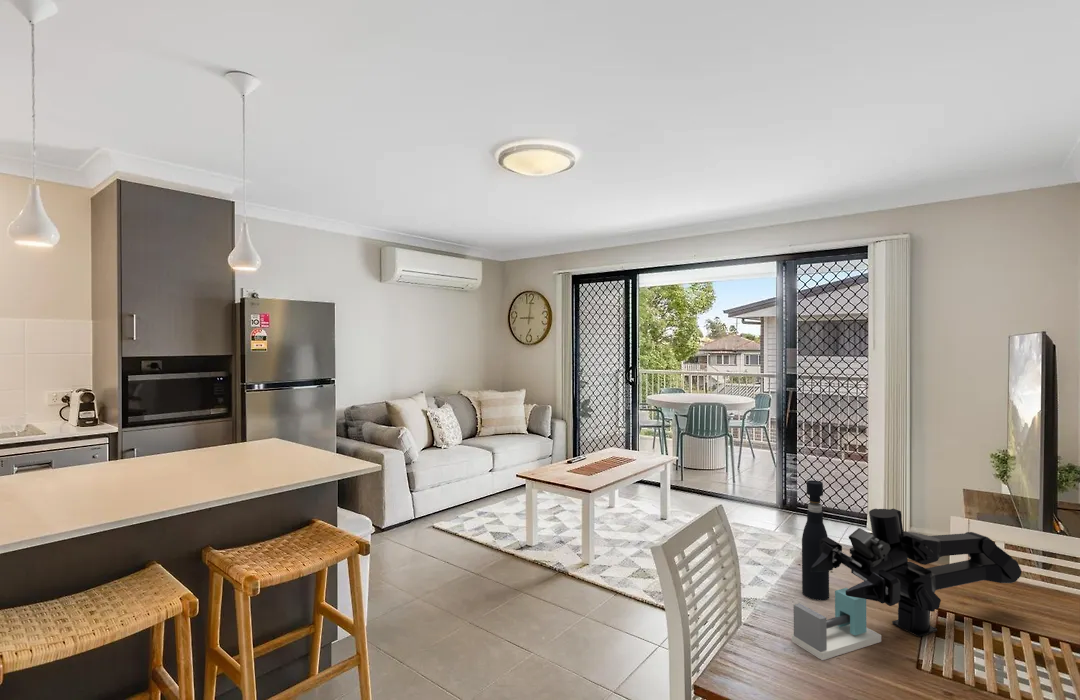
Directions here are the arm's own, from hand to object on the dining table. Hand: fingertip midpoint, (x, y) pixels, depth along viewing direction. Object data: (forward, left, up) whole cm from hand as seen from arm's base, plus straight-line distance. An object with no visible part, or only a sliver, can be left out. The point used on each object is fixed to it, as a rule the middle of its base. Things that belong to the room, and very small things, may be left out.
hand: (828, 581), depth 119 cm
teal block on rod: (-8, -1, -12) cm, 15 cm away
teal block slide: (-3, -1, -14) cm, 15 cm away
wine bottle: (-18, -19, -15) cm, 30 cm away
